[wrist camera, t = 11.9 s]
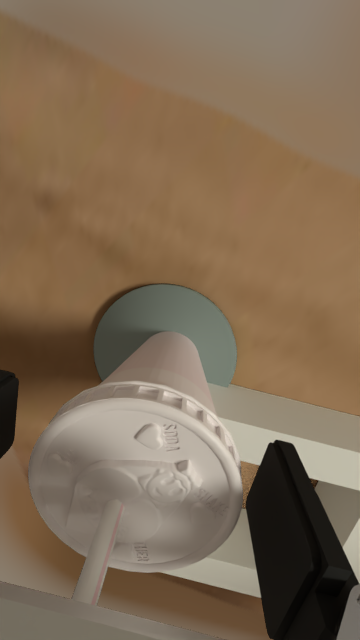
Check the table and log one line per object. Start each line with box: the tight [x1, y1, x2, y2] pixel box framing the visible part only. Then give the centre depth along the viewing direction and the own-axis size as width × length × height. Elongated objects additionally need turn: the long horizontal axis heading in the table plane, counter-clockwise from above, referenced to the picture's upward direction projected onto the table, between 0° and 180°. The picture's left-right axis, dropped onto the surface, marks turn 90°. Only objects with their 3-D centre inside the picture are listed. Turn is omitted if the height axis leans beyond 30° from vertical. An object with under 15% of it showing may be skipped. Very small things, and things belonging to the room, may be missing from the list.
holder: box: [161, 383, 360, 598], centre depth 18 cm, size 12×12×4 cm
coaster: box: [94, 284, 237, 388], centre depth 17 cm, size 9×9×1 cm
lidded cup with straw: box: [28, 331, 243, 606], centre depth 10 cm, size 6×6×14 cm
